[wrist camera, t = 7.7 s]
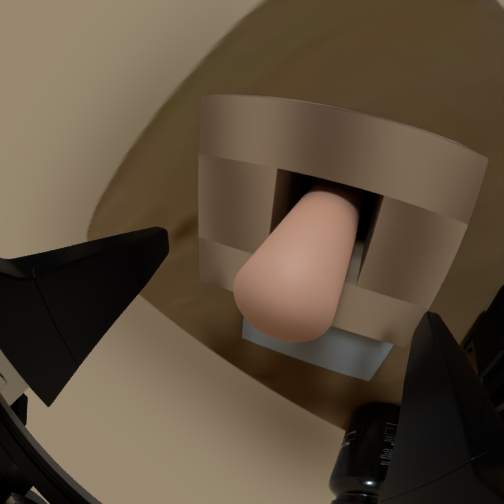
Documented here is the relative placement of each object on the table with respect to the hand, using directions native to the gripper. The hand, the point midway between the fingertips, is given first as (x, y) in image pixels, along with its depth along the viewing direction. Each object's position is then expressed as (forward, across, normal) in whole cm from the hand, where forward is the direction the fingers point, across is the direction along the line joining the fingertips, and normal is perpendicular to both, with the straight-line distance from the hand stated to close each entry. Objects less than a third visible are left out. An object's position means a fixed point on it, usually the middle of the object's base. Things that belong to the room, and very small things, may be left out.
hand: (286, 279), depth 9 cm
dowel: (+9, 0, 0) cm, 9 cm away
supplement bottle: (+9, -11, +21) cm, 25 cm away
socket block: (+9, 0, 0) cm, 9 cm away
